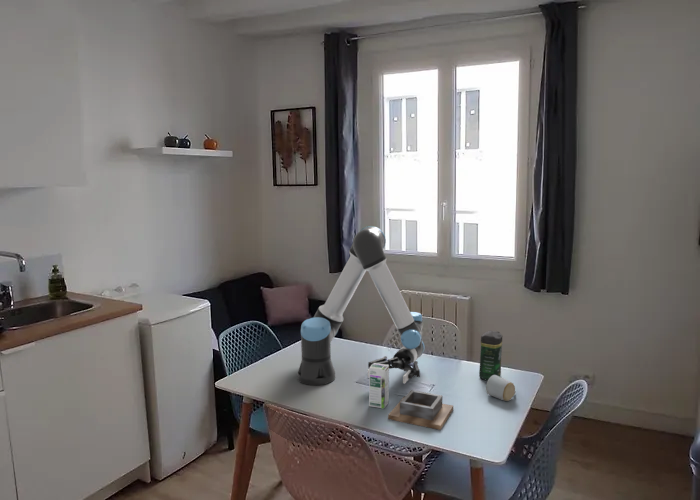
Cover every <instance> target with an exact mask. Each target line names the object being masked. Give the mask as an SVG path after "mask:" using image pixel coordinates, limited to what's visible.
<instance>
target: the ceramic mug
mask: <svg viewBox="0 0 700 500" xmlns="http://www.w3.org/2000/svg"><path fill="white" fill-rule="evenodd" d="M486 381H487V380H486ZM485 390H486V391H485V392H486V394H488V396H491V397H494V398H496V399H499V400H501V401H504V402H505V401H506V402H509V401H510V400H512V399H513V397H514V396H516V386H515V384H514V383H513V382H511V381H510V380H507V379H506V378H504V377H502V376H500V377H499V376H497V375H492V376H491V377H490V378H489V379H488V381H487V382H486V385H485Z"/></svg>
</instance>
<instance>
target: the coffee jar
mask: <svg viewBox="0 0 700 500" xmlns="http://www.w3.org/2000/svg"><path fill="white" fill-rule="evenodd" d="M502 351H503V334H502V333H501V332H500V331H497V330H488V331H485V332H484V333H482V335H481V336H480V353H479V354H480V356H479V357H480V358H479V372H478V377H479V378H480V379H482V380H484V381H488V379H489V378H490V377H491V376H492V375H497V376H499V377H502V376H501V375H502Z"/></svg>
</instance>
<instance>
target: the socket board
mask: <svg viewBox="0 0 700 500" xmlns="http://www.w3.org/2000/svg"><path fill="white" fill-rule="evenodd" d="M453 411H454V405H452V404H446V403H443V395H441V394H437V393H431V392H425V391H420V390H413V389H410V390H409V392H408V393H406V395H404V396H403V397H402V398H401V400H399V402H398V403H397V404H396V405H395V406H394V407H393V409H392V410H391V411H390V412H389V413H388V416H387V419H388V420H390V419H391V421H396V422H401V423H405V424H411V425H415V426H419V427H420V426H421V427H425V428H428V429H429V428H430V429H434V430H439V431H440V430H442V428H443V427H444V426H445V424H446V422H447V421H448V419H449V418H450V415H452V413H453Z"/></svg>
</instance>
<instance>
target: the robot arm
mask: <svg viewBox="0 0 700 500" xmlns="http://www.w3.org/2000/svg"><path fill="white" fill-rule="evenodd" d="M386 243H387V242H386V236H385V233H384V232H383V231H382V230H381V228H379V227H377V226H373V225H369V226H365V227H363V228H361V229H360V230H359V231H358V232H357V233H356V234H355V236H354V238H353V241H352V244H351V246H350V248H349V250H348V253H349V255H350V256H349V258H348V260H347V262H346V263H345V265H344V267H343V270H342V271H341V273H340V275H339V276H338V278H337V280H336V282H335V284H334V286H333V288H332V290H331V291H330V294H328V297H327V299H326V301H325V302H324V304H322V305H319V307H318V308H317V309H316V312H315V314H314V316H313V317H310V318H307V319H305V320H304V321H303V322H302V323H301V326H300V340H301V342H300V343H301V344H300V346H301V348H300V349H301V351H300V352H301V361H300V364H299V367H298V371H297V381H298V382H300V383H301V384H303V385H308V386H321V385H326V384H329V383H332V382H333V381H335V379H336V371H335V367H334V364H333V362H332V356H331V345H332V344H331V343H332V341H333V340H334V338H335V336H336V335H337V334H338V332H339V329H340V327H341V325H342V323H343V322H344V316H343V314H344V312H345V311H346V309H347V306H348V304H349V303H350V302H351V299H352V298H353V296H354V294H355V292H356V290H357V288H358V286H359V285H360V282H361V281H362V279H363V277H364V276H365V274H366V273H367V272H368V274H369V276H370V279H371V280H372V283H373V284H374V286H375V288H376V290H377V292H378V294H379V296H380V298H381V300H382V302H383V304H384V306H385V308H386V309H387V312H388V314H389V316H390V318H391V319H392V322H393V324H394V325H395V327H396V329H397V332H398V333H399V336H400V342H401V345H402V347H401V348H400V349H399V350H398V351H396V353H394V355H393V357H391V358H388V356H383V357H382V358H378V359H375V360H372V361H371V360H370V361H368V363H367V378H369V368H370V366H371V365H372V364H373V363H379V364H386V365H387V364H388V365H389V370H390V369H399V370H401V371H402V370H403V372H405V373H404V375H402V384H406V383H407V382H408V381H409V380H411V379H413V378H415V377H417V378H420V375H421V373H420V372H421V371H420V366H419V365H418V364H419V363H418V361H417V360H418V359H419V358H420V357H421V356H422V355H423V353H424V351H425V348H426V347H425V343H424V341H423V315H422V314H421V313H420V312H417V311H410V309H409V307H408V304H407V302H406V301H405V299H404V296H403V294H402V293H401V291H400V289H399V287H398V285H397V282H396V280H395V279H394V277H393V275H392V273H391V271H390V269H389V266H388V265H387V257H386V255H385V252H384V248H385V246H386Z"/></svg>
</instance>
